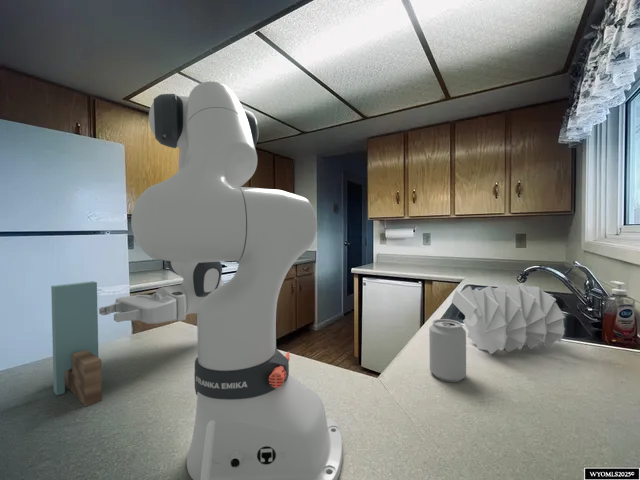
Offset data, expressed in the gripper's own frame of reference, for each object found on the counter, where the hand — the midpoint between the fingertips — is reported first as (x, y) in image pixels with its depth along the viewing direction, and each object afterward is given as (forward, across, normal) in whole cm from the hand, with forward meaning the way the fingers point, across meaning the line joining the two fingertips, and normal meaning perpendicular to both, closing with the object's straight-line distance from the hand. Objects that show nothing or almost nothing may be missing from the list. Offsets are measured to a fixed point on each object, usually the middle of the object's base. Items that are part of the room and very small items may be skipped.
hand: (107, 314), depth 66 cm
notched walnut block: (+6, +3, +14) cm, 16 cm away
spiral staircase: (-71, +74, +14) cm, 103 cm away
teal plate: (+6, 0, +14) cm, 15 cm away
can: (-45, +64, +14) cm, 79 cm away
